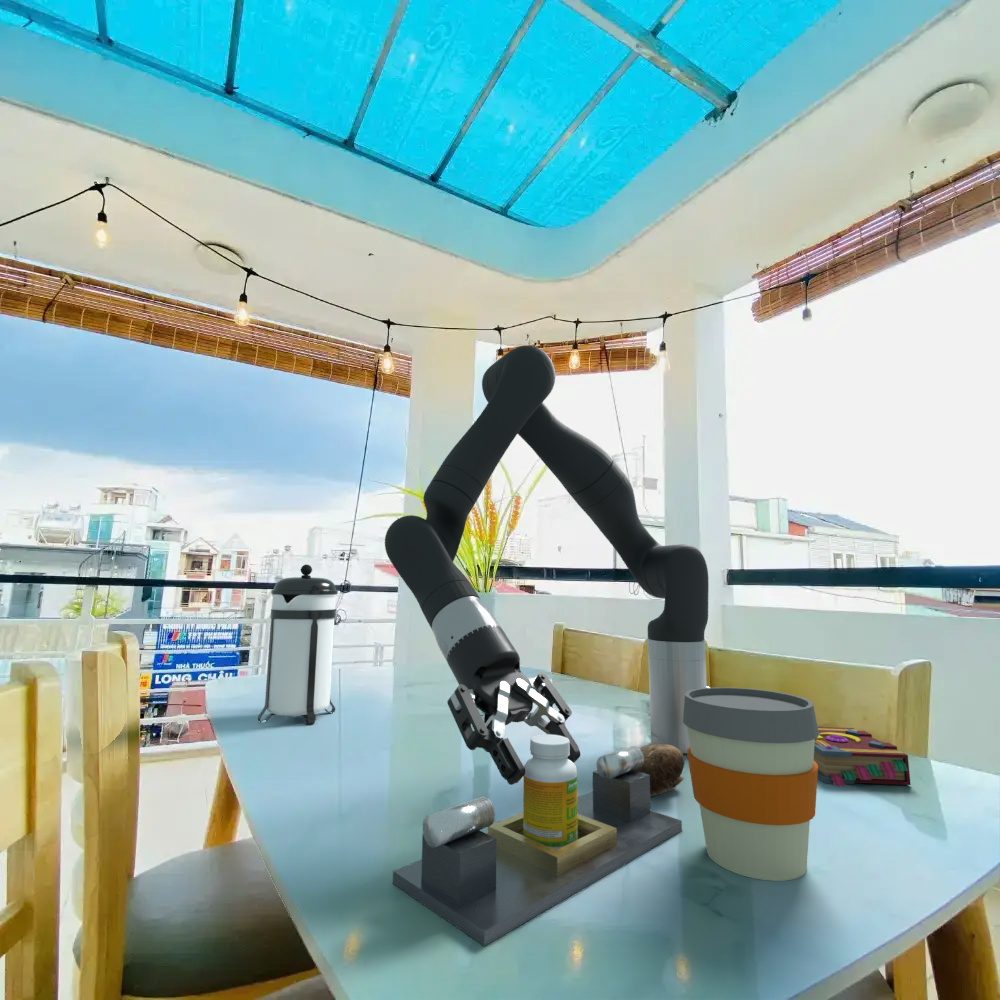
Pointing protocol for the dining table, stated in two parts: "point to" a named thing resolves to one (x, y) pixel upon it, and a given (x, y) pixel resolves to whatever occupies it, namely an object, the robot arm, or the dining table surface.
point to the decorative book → (858, 758)
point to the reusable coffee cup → (753, 777)
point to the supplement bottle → (550, 793)
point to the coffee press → (300, 647)
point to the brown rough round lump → (662, 767)
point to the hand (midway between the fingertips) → (548, 769)
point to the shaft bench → (531, 852)
